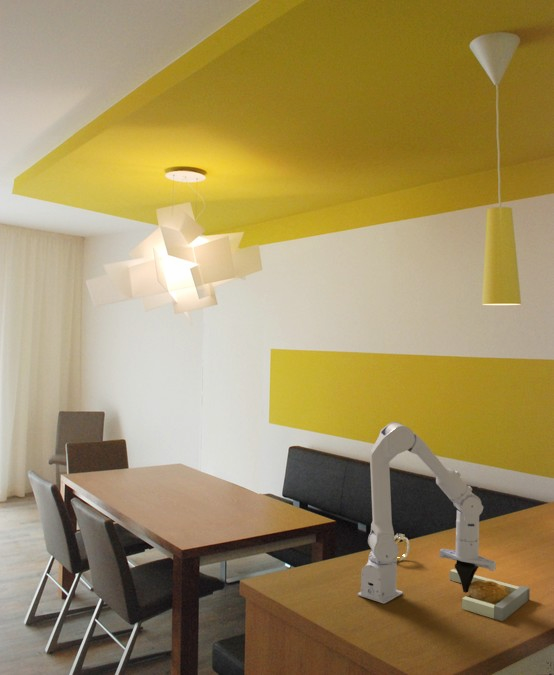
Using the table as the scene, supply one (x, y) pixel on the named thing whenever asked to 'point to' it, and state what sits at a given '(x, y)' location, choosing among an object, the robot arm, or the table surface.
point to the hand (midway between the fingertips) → (466, 591)
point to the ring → (406, 541)
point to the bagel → (488, 591)
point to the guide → (500, 609)
